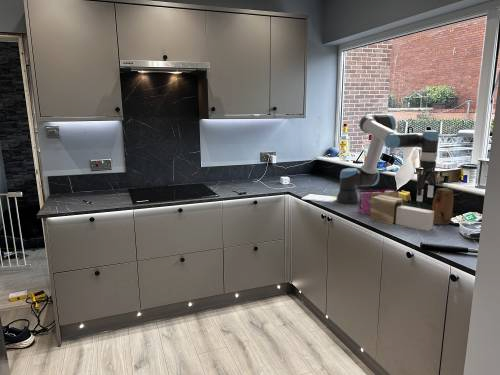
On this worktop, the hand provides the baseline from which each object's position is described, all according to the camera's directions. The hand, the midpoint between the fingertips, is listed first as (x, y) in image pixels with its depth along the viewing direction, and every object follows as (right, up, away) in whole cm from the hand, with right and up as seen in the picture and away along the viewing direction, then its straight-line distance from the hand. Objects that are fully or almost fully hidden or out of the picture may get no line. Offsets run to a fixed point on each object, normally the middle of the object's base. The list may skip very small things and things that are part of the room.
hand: (424, 199), depth 202 cm
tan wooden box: (-14, -13, +19) cm, 27 cm away
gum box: (-13, -9, +36) cm, 40 cm away
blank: (-3, -15, +7) cm, 17 cm away
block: (+14, -14, +11) cm, 23 cm away
